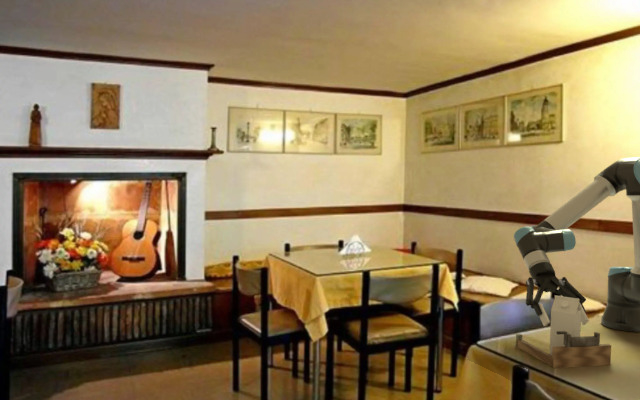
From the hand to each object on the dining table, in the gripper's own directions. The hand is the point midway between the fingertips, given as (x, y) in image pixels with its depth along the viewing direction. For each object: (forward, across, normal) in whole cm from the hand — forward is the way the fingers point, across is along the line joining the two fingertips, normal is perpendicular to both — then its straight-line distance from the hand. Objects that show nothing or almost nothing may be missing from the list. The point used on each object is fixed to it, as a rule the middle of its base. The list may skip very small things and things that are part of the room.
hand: (566, 323), depth 159 cm
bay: (+6, 0, -10) cm, 11 cm away
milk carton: (+7, -1, -9) cm, 11 cm away
